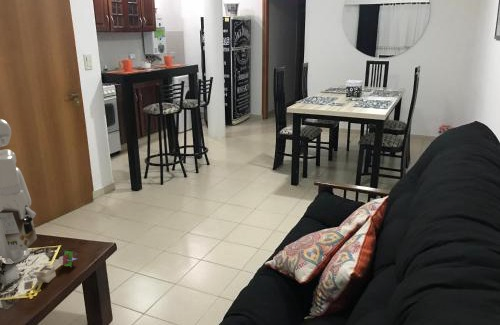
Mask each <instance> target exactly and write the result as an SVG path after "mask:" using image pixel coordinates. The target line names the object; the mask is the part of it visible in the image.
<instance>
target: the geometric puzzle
mask: <svg viewBox="0 0 500 325" xmlns="http://www.w3.org/2000/svg"><path fill="white" fill-rule="evenodd" d="M74 255H75V253H74V252H73V251H71V250H70V251H68V250H64V252H63V255H62V256H61V255H60V256H59V257H58V263H59V264H60V265H62V266H63V265H64V266H63V267H68V266H70V267H69V268H73V263H74V261H76V260H77V257H76V258H74Z"/></svg>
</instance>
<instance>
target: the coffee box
mask: <svg viewBox="0 0 500 325" xmlns="http://www.w3.org/2000/svg"><path fill="white" fill-rule="evenodd" d="M28 203H29V202H28ZM29 207H31V206H29ZM28 215H29V216H30V214H28ZM0 218H1V222H2V226H3V230H4V234H5V237H6V241H7V245H8V249H9V251H25V250H26V249H29V247H30V246H31V245H32V244H33V243H35V241H36V240H37V239H38V237H37V232H36V228H35V224H34V219H33V220H32V221H31V224H32V228H33V230H32V231H31V232H30V233H29V234H26V233H25V228H24V224H25V223H24V222H23V220H22V219H21V220H20V218H19V214H18V211H10V210H8V211H6V210H2V211H1V212H0ZM25 219H26V220H27V218H26V217H25Z"/></svg>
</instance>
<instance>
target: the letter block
mask: <svg viewBox="0 0 500 325" xmlns="http://www.w3.org/2000/svg"><path fill="white" fill-rule="evenodd" d="M55 270H56V269H55V265H51V264H50V265H49V264H42V265H41V266H40V267H39V268H37V269H36V270H35V275H36V280H37V282H38V283H50V282H51V281H52V280H53V279H54V278H55V277H56V276H57V275H56V271H55Z"/></svg>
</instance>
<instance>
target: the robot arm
mask: <svg viewBox="0 0 500 325" xmlns="http://www.w3.org/2000/svg"><path fill="white" fill-rule="evenodd" d="M11 137H12V128H11V126H10V124H9V123H8V122H7V121H6V120H4V119H2V118H0V148H1V147H5V146H8V145H9V144H10V142H11V141H10V140H11ZM16 163H17V156H16V154H15V152H14V151H12V149H8V148H7V149H6V148H5V149H0V212H1V211H2V210H6V211H8V210H10V211H18V214H19V218H20V220H21V219H22V220H23V222H24V223H25V224H24V228H25V233H26V234H29V233H30V232H31V231H32V230H33V228H32V224H31V221H32V220H33V221H34V219H35V217H36V215H37V213H36V212H35V211H34V210H32V209H31V208H30V207H31V206H32V198H31V195H30V192H29V189H28V187H27V184H26V181H25V177H24V175H23V172H22V171H21V169H20V168H19V167H17V165H16ZM28 202H29V203H28ZM29 206H30V207H29ZM28 214H30V216H29V215H28ZM25 217H26V218H27V220H26V219H25ZM30 254H31V252H30V249H29V248H27V249H26V250H25V251H9V249H8V245H7V241H6V237H5V234H4V230H3V226H2V222H1V218H0V256H2V258H10V259H11V260H12V261H13V262H14V263H15V264H18V263H21V262H22V261H25V260H26V259H27V258H28V257H29V256H30Z"/></svg>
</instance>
